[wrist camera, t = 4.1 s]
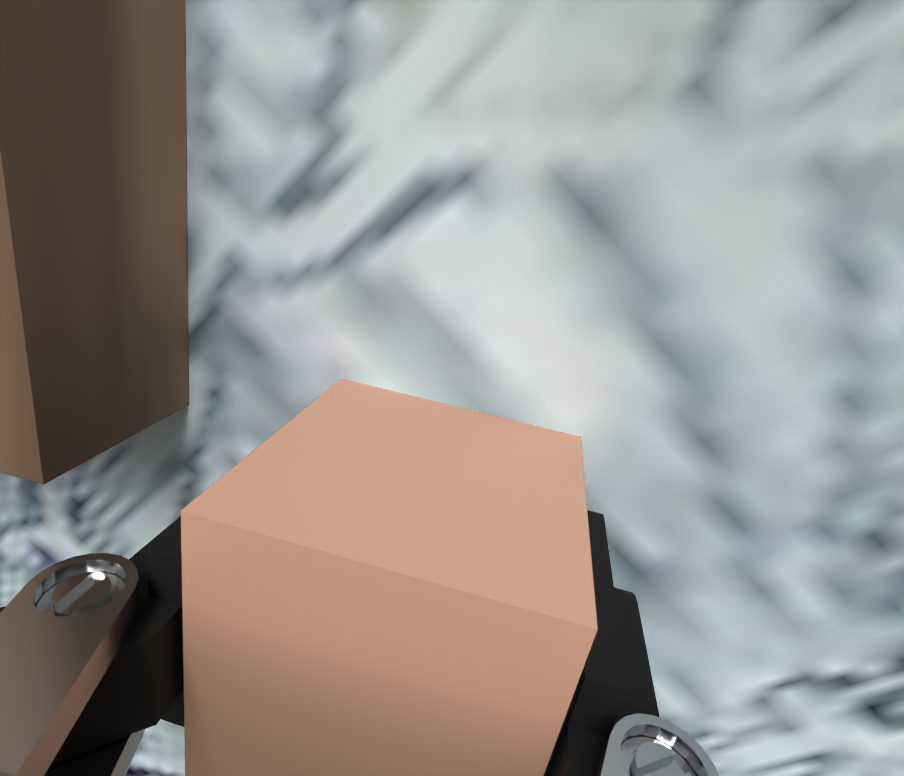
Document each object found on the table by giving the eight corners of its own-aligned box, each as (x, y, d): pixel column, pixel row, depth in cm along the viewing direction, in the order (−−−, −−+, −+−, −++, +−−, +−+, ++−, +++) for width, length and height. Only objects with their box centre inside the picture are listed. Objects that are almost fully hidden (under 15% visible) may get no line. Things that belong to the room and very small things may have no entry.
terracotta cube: (580, 436, 10) (598, 628, 6) (523, 626, 12) (501, 889, 8) (341, 378, 11) (180, 510, 6) (321, 568, 13) (185, 778, 8)
